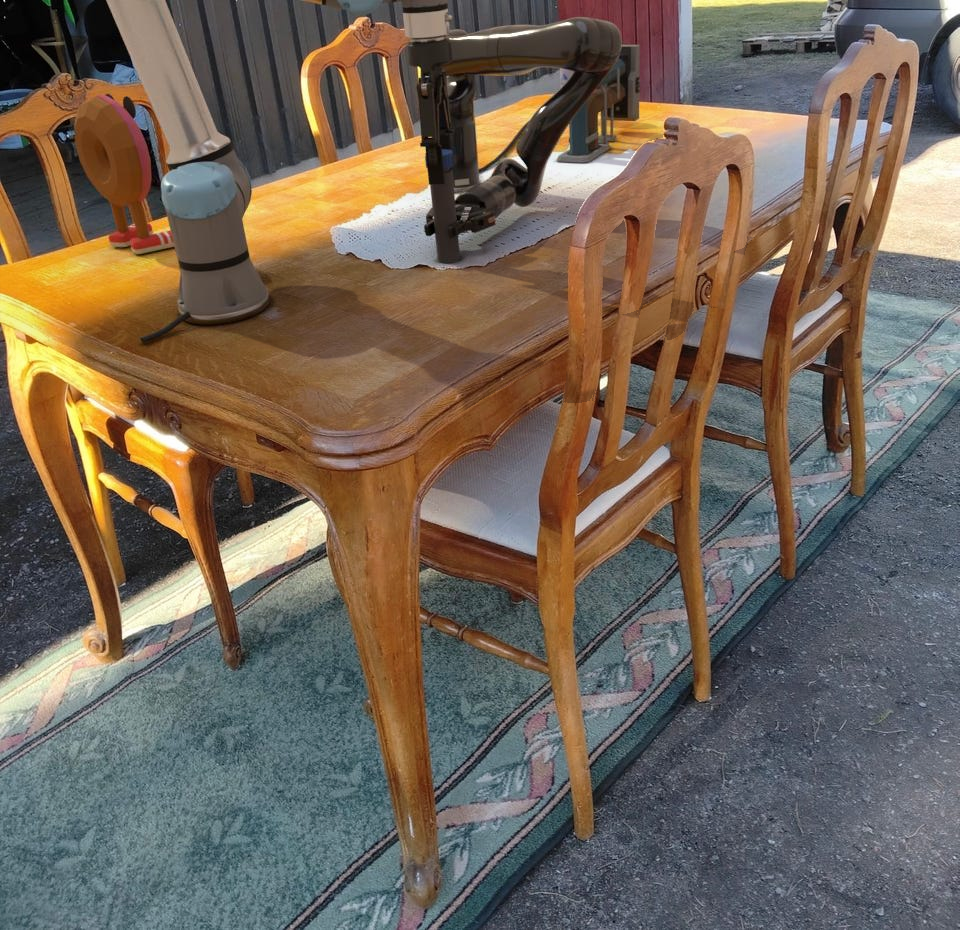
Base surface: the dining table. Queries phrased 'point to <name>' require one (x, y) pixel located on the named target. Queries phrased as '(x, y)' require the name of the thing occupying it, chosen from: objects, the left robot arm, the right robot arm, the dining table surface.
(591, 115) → the clamp
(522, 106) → the dining table surface
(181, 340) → the dining table surface
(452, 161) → the lid
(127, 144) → the toy
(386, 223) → the dining table surface
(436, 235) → the bottle
